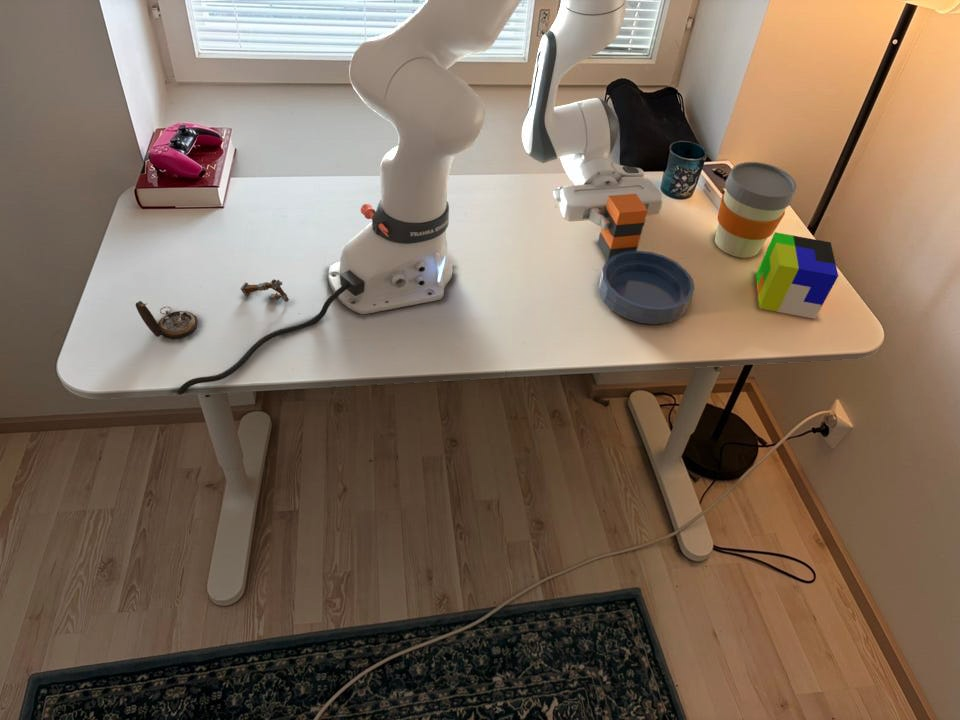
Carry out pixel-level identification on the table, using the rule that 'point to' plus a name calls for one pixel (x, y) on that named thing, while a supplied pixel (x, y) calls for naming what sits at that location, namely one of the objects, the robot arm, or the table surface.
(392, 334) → the table surface
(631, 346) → the table surface
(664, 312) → the bowl
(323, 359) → the table surface
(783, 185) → the reusable coffee cup
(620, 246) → the puzzle tower
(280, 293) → the gnarled brown twig
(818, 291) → the puzzle toy
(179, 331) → the compass
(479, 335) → the table surface
